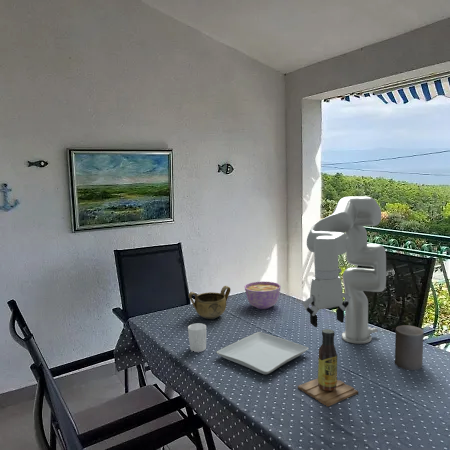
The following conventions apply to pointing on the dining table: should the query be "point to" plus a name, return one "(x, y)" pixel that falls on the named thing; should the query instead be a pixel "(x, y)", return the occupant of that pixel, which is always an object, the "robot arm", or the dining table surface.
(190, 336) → the white cup
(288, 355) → the square plate
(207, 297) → the ceramic bowl
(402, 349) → the pillar candle
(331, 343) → the sauce bottle
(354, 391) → the trivet
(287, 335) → the dining table surface
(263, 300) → the bowl of food
